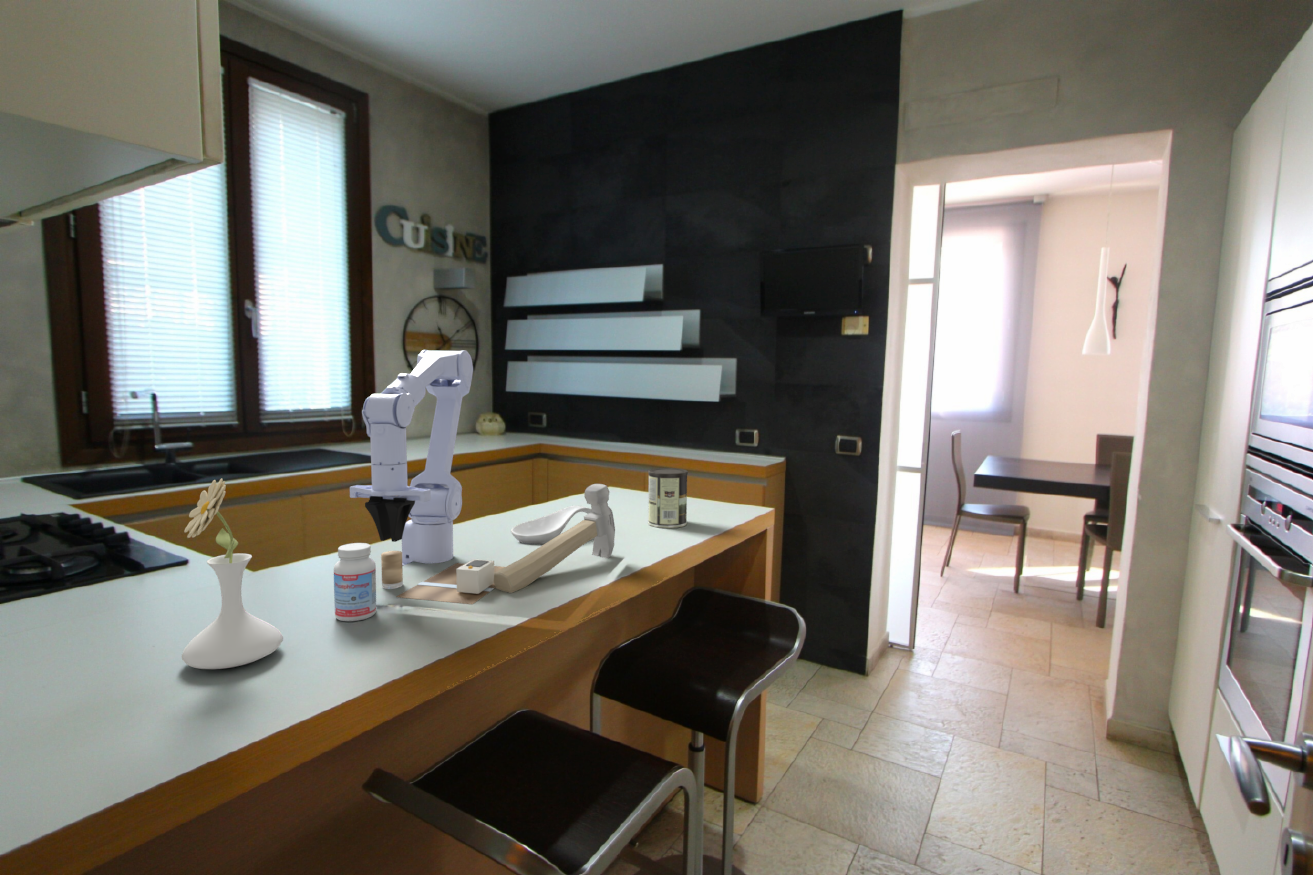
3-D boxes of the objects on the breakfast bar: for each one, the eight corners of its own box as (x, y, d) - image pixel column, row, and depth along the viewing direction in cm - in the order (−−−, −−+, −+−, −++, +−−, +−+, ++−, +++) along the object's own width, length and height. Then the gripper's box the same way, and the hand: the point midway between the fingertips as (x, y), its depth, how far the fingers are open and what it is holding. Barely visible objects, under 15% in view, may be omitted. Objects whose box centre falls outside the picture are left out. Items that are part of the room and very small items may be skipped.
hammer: (503, 548, 107) (611, 484, 130) (484, 543, 109) (593, 482, 133) (519, 629, 111) (621, 553, 135) (501, 623, 114) (604, 550, 137)
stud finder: (456, 591, 109) (456, 566, 108) (473, 580, 115) (473, 556, 114) (478, 593, 108) (478, 568, 107) (494, 582, 114) (494, 558, 113)
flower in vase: (194, 648, 89) (184, 470, 86) (288, 635, 93) (281, 467, 91) (166, 691, 77) (154, 486, 74) (276, 674, 81) (267, 481, 79)
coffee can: (673, 517, 174) (674, 466, 173) (694, 525, 165) (695, 472, 164) (640, 521, 169) (641, 469, 168) (660, 530, 160) (661, 474, 159)
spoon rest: (529, 553, 139) (529, 521, 138) (501, 542, 147) (501, 512, 147) (612, 535, 155) (613, 506, 154) (583, 526, 164) (583, 499, 163)
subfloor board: (395, 603, 107) (395, 596, 107) (456, 568, 126) (456, 562, 126) (472, 611, 104) (472, 603, 104) (522, 574, 123) (522, 567, 123)
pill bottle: (331, 624, 98) (328, 552, 97) (339, 610, 104) (337, 542, 103) (373, 620, 100) (371, 550, 98) (379, 606, 105) (377, 540, 104)
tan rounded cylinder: (378, 594, 111) (376, 555, 111) (390, 588, 115) (389, 550, 114) (395, 596, 111) (394, 556, 110) (407, 589, 114) (406, 551, 113)
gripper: (336, 464, 108) (339, 542, 109) (413, 468, 105) (415, 548, 106) (363, 459, 115) (366, 532, 116) (436, 462, 112) (438, 538, 113)
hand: (391, 539), depth 112 cm, fingers closed
